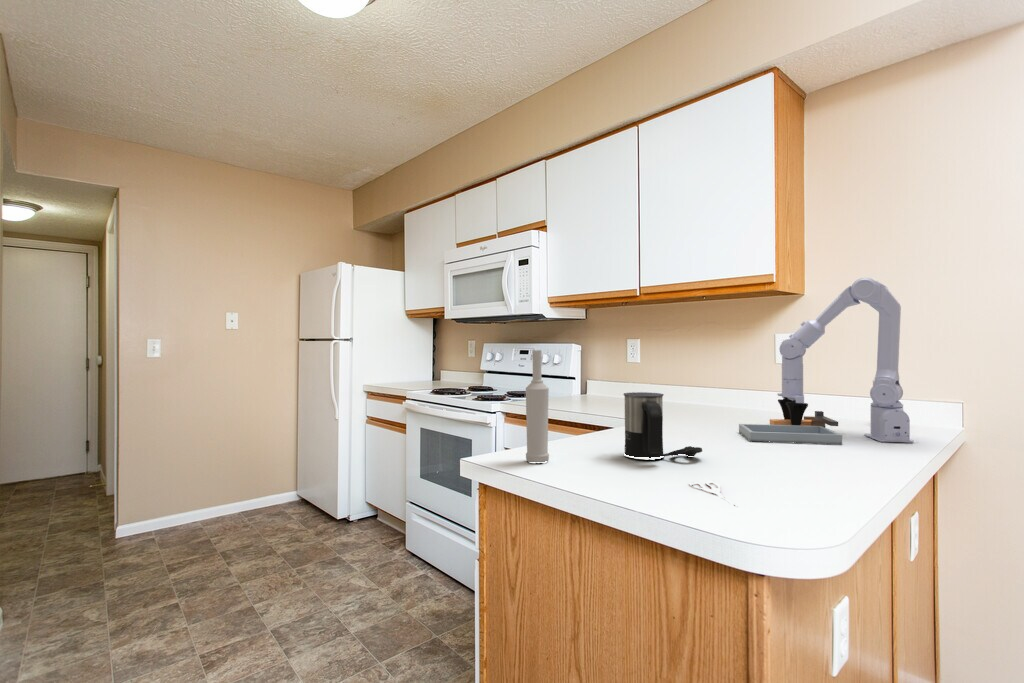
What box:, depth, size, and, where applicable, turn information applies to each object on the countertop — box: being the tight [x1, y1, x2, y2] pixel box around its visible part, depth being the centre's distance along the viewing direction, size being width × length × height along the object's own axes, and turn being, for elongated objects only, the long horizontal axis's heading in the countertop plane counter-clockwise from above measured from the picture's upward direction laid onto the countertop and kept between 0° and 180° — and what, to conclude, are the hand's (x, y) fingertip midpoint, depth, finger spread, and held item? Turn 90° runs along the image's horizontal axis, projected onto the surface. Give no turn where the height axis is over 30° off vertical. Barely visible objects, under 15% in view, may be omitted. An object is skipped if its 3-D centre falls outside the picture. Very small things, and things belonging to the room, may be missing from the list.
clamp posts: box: [803, 415, 826, 428], centre depth 157 cm, size 9×3×3 cm, turn 168°
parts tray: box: [738, 423, 843, 445], centre depth 144 cm, size 14×22×2 cm, turn 78°
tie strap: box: [814, 410, 839, 427], centre depth 148 cm, size 12×2×2 cm, turn 168°
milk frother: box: [622, 391, 703, 458], centre depth 121 cm, size 14×16×15 cm
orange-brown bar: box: [769, 418, 812, 426], centre depth 158 cm, size 4×14×3 cm, turn 84°
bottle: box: [525, 349, 550, 462], centre depth 118 cm, size 5×5×25 cm
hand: (792, 424), depth 158 cm, fingers open, 6 cm apart
